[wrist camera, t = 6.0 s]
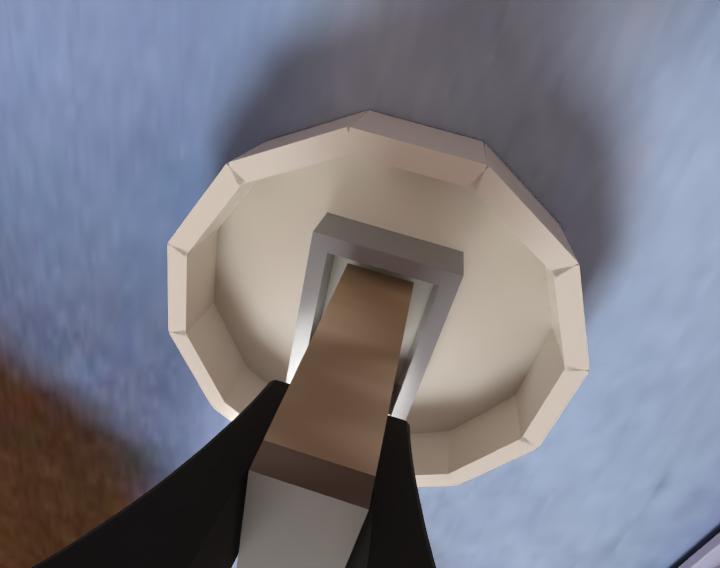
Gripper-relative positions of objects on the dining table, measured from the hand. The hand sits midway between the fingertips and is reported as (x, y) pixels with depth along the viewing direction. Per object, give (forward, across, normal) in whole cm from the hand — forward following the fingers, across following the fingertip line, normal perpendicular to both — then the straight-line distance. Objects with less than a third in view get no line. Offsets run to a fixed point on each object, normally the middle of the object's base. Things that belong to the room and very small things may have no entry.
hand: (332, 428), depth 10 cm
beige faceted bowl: (+6, 0, 0) cm, 6 cm away
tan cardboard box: (+4, 0, 0) cm, 4 cm away
